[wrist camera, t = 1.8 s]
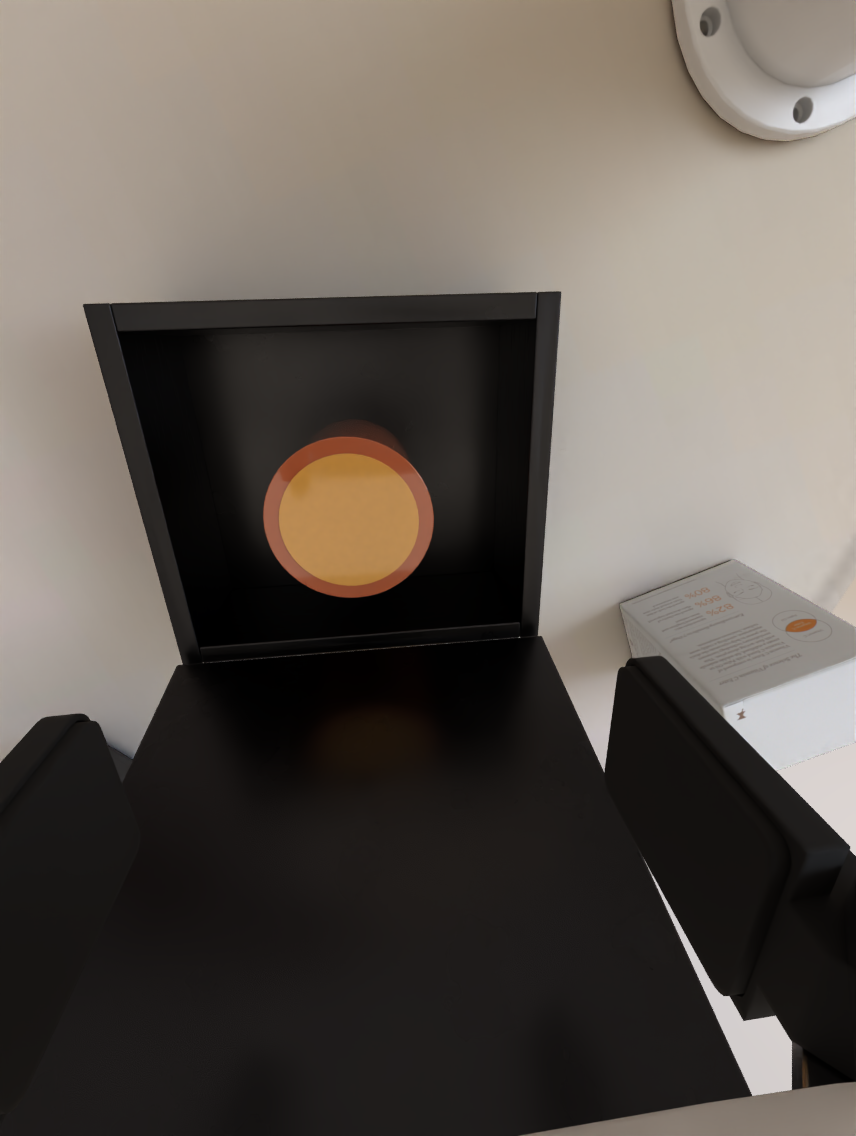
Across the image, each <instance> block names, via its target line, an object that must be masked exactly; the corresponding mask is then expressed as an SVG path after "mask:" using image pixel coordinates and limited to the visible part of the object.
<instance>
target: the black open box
mask: <svg viewBox="0 0 856 1136" xmlns="http://www.w3.org/2000/svg"><path fill="white" fill-rule="evenodd" d="M560 304H561V292H560V291H556V292H538V293H536V292H519V293H481V294H443V295H405V296H368V297H330V298H292V299H255V300H217V301H179V302H141V303H112V304H110V303H102V304H83V307H84V311H85V314H86V318H87V322H88V325H89V329H90V332H91V336H92V339H93V343H94V347H95V350H96V354H97V357H98V361H99V365H100V368H101V372H102V375H103V379H104V383H105V386H106V390H107V393H108V397H109V401H110V404H111V408H112V411H113V415H114V418H115V422H116V426H117V429H118V433H119V436H120V440H121V444H122V447H123V451H124V454H125V458H126V462H127V465H128V469H129V472H130V476H131V480H132V483H133V487H134V490H135V494H136V497H137V501H138V505H139V508H140V512H141V515H142V519H143V523H144V526H145V530H146V533H147V537H148V541H149V544H150V548H151V551H152V555H153V559H154V562H155V566H156V569H157V573H158V576H159V580H160V584H161V587H162V591H163V594H164V598H165V602H166V605H167V609H168V612H169V616H170V620H171V623H172V627H173V630H174V634H175V638H176V641H177V645H178V648H179V652H180V655H181V659H182V663H183V665H188V664H200V663H203V662H204V663H210V662H222V661H235V660H247V659H259V658H272V657H284V656H297V655H309V654H321V653H334V652H346V651H359V650H371V649H383V648H396V647H408V646H421V645H433V644H445V643H458V642H470V641H483V640H495V639H507V638H518V637H519V636H520V637H521V638H522V637H535V636H538V626H539V611H540V597H541V582H542V567H543V553H544V538H545V523H546V509H547V494H548V479H549V465H550V450H551V435H552V421H553V406H554V392H555V377H556V362H557V348H558V333H559V318H560ZM346 419H361V420H367V421H371V422H374V423H376V424H379V425H381V426H383V427H384V428H386V429H388V430H389V431H390V432H391V433H393V434H394V435H395V436H396V437H397V438H398V439H399V440H400V442H401V443H402V444H403V446H404V447H405V449H406V451H407V453H408V455H409V458H410V460H411V463H412V465H413V466H414V467H415V469H416V470H417V471H418V473H419V474H420V475H421V477H422V479H423V481H424V483H425V484H426V487H427V489H428V492H429V495H430V497H431V502H432V506H433V514H434V525H433V533H432V538H431V541H430V544H429V547H428V550H427V552H426V554H425V556H424V558H423V559H422V561H421V562H420V564H419V565H418V566H417V568H416V569H415V570H414V571H413V572H412V573H411V574H410V575H409V576H408V577H407V578H406V579H405V580H403V581H402V582H400V583H399V584H397V585H396V586H394V587H392V588H390V589H388V590H386V591H383V592H381V593H378V594H374V595H371V596H365V597H358V598H345V597H336V596H332V595H327V594H324V593H321V592H318V591H316V590H313V589H311V588H309V587H307V586H306V585H304V584H302V583H301V582H299V581H298V580H297V579H295V578H294V577H293V576H292V575H290V574H289V573H288V572H287V571H286V570H285V568H284V567H283V566H282V565H281V564H280V562H279V561H278V560H277V558H276V557H275V555H274V553H273V551H272V550H271V548H270V545H269V543H268V540H267V537H266V533H265V529H264V522H263V506H264V501H265V495H266V493H267V490H268V487H269V484H270V482H271V480H272V478H273V476H274V475H275V473H276V472H277V471H278V469H279V468H280V466H281V465H282V464H283V463H284V462H285V461H286V460H287V459H288V458H289V457H290V456H291V455H292V454H294V453H295V452H296V451H297V450H299V449H301V448H302V447H304V446H306V444H307V443H308V442H309V440H310V439H311V438H312V437H313V436H314V435H315V434H316V433H317V432H318V431H319V430H321V429H322V428H324V427H325V426H327V425H329V424H331V423H334V422H337V421H340V420H346Z"/></svg>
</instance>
